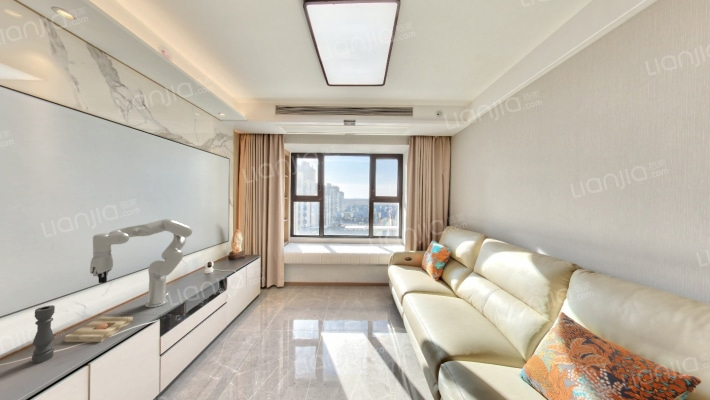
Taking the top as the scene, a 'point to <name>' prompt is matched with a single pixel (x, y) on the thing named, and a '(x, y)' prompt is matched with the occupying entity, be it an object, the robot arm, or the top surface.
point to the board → (98, 335)
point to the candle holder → (43, 334)
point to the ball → (102, 326)
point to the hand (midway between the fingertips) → (102, 282)
